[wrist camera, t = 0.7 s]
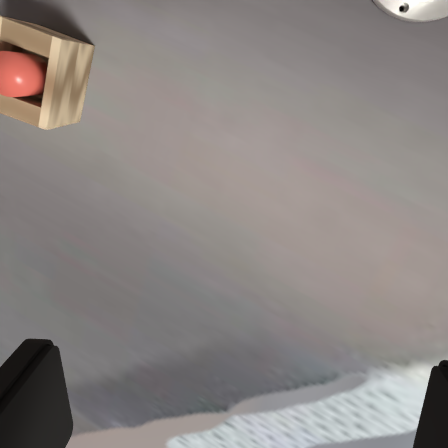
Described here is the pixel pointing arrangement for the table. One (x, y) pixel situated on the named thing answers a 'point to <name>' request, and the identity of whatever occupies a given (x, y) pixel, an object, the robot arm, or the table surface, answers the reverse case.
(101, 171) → the table surface
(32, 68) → the button
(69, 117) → the wooden box
